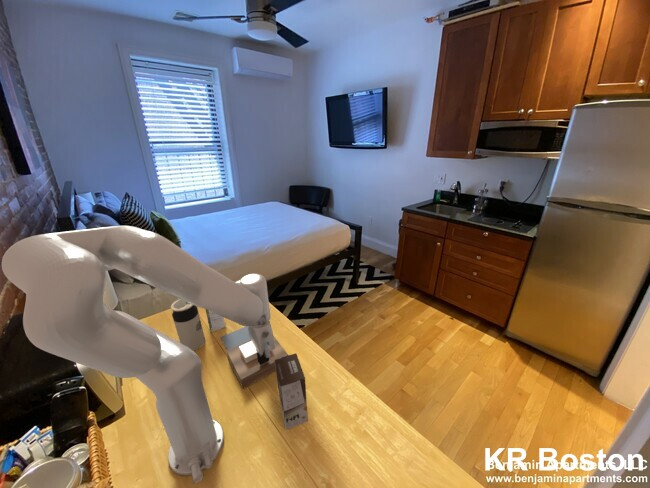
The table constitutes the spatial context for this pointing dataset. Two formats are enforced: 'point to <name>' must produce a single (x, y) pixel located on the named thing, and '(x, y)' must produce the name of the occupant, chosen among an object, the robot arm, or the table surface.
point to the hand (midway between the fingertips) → (263, 361)
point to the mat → (236, 338)
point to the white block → (249, 351)
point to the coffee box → (291, 390)
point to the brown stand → (253, 364)
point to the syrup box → (215, 321)
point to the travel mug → (188, 324)
